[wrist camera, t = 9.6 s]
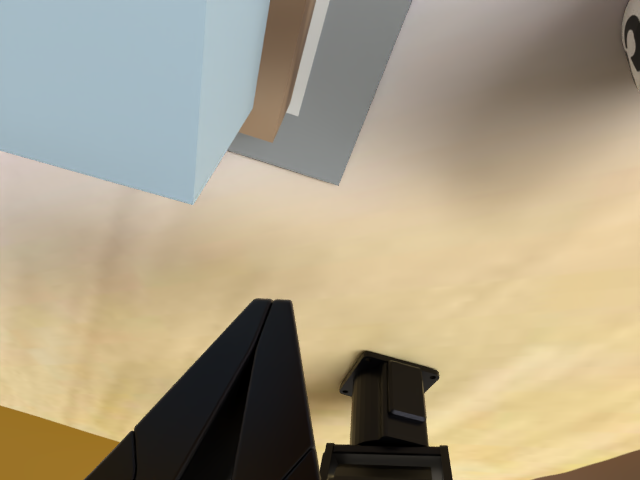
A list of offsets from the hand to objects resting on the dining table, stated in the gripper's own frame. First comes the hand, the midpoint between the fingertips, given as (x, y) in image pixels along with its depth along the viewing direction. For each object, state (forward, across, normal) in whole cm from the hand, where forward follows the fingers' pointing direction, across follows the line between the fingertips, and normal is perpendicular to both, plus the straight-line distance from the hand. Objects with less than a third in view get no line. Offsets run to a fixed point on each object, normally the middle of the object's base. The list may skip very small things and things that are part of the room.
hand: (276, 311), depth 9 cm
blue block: (+8, +4, -5) cm, 10 cm away
